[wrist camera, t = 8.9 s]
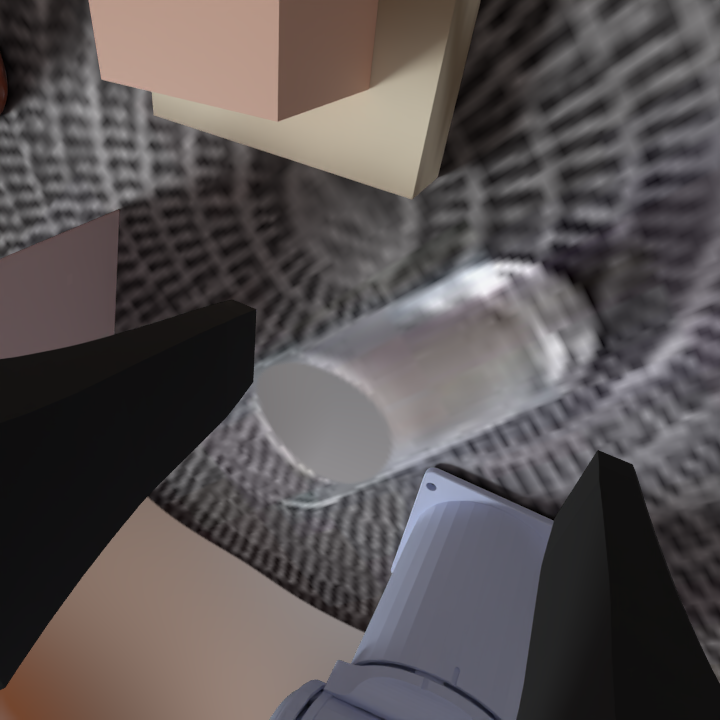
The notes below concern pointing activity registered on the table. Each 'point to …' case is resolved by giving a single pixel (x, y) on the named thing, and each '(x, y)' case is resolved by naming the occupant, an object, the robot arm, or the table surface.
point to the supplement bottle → (3, 85)
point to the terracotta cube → (239, 51)
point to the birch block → (369, 104)
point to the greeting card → (60, 290)
